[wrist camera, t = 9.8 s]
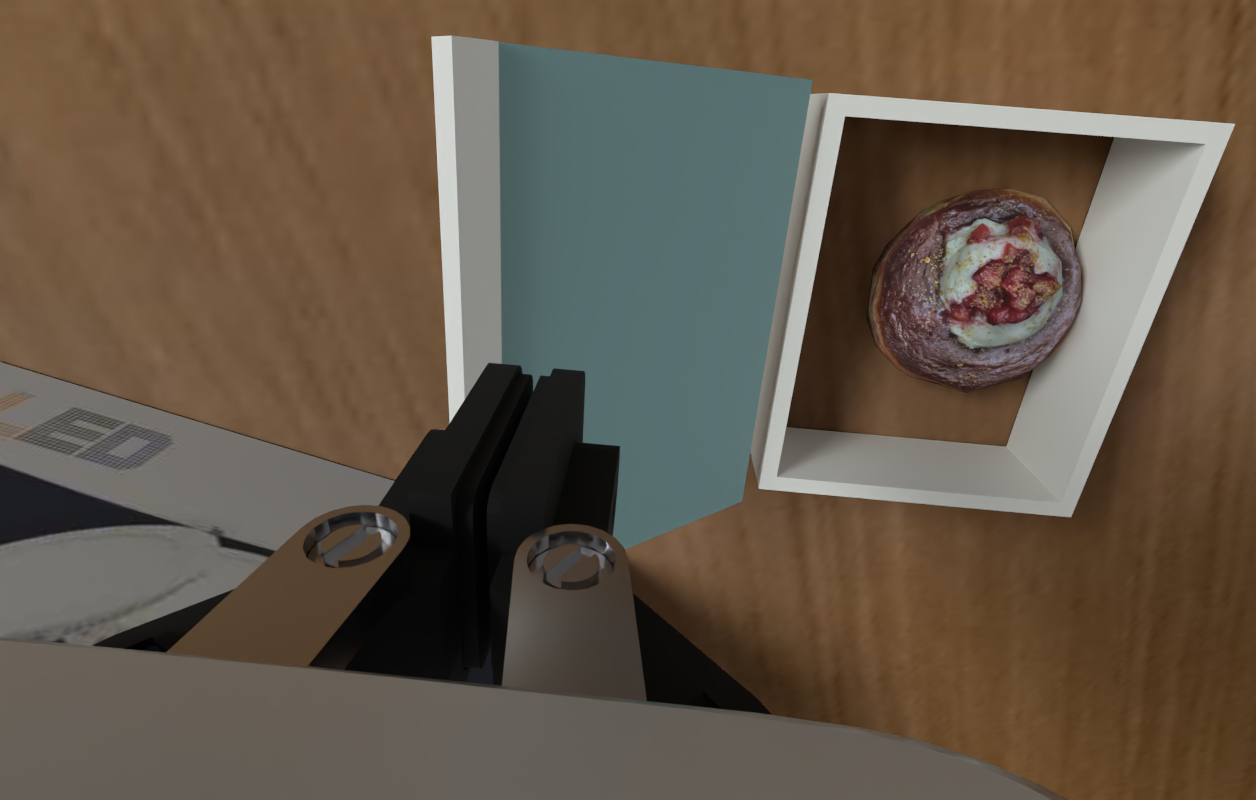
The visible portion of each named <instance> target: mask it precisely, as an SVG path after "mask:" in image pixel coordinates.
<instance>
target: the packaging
mask: <svg viewBox="0 0 1256 800" xmlns="http://www.w3.org/2000/svg"><path fill="white" fill-rule="evenodd" d="M394 482H395V481H393V480H389V479H386V478H383V477H379V476H376V475H373V474H370V473H366V472H363V471H360V470H356V469H353V468H350V467H346V466H343V465H340V464H336V463H333V462H330V461H327V460H323V459H320V458H317V457H313V456H310V455H307V454H303V453H300V452H297V451H293V450H290V449H287V448H283V447H280V446H277V445H274V444H270V443H267V442H264V441H260V440H257V439H254V438H250V437H247V436H244V435H240V434H237V433H234V432H231V431H227V430H224V429H221V428H217V427H214V426H211V425H207V424H204V423H201V422H197V421H194V420H191V419H188V418H184V417H181V416H178V415H174V414H171V413H168V412H164V411H161V410H158V409H154V408H151V407H148V406H144V405H141V404H138V403H135V402H131V401H128V400H125V399H121V398H118V397H115V396H111V395H108V394H105V393H101V392H98V391H95V390H92V389H88V388H85V387H82V386H78V385H75V384H72V383H68V382H65V381H62V380H58V379H55V378H52V377H48V376H45V375H42V374H39V373H35V372H32V371H29V370H25V369H22V368H19V367H15V366H12V365H9V364H5V363H2V362H0V637H3V638H14V639H25V640H35V641H46V642H57V643H67V644H78V645H89V646H92V645H94V644H96V643H98V642H100V641H102V640H104V639H107V638H109V637H111V636H113V635H115V634H118V633H121V632H123V631H126V630H128V629H131V628H134V627H136V626H139V625H141V624H144V623H147V622H149V621H152V620H155V619H157V618H160V617H162V616H165V615H168V614H170V613H173V612H175V611H178V610H181V609H183V608H186V607H188V606H191V605H194V604H196V603H199V602H202V601H204V600H207V599H209V598H212V597H215V596H217V595H220V594H222V593H225V592H228V591H230V590H233V589H235V588H236V587H238V586H239V585H240V584H241V583H242V582H243V581H244V580H245V579H246V578H247V577H248V576H249V575H251V574H252V573H253V572H254V571H255V570H256V569H257V568H258V567H259V566H260V565H261V564H262V563H264V562H265V561H266V560H267V559H268V558H269V557H270V556H271V555H272V554H273V553H274V552H275V551H277V550H278V549H279V548H280V547H281V546H282V545H283V544H284V543H285V542H286V541H287V540H288V539H289V538H291V537H292V536H293V535H294V534H295V533H296V532H297V531H298V530H299V529H300V528H302V527H303V526H304V525H306V524H307V523H308V522H310V521H311V520H313V519H314V518H316V517H318V516H321V515H323V514H325V513H327V512H329V511H332V510H336V509H340V508H344V507H348V506H359V505H373V506H378V505H379V504H380V502H381V501H382V499H383V498H384V496H385V495H386V494H387V492H388V491H389V489H390V488H391V486H392V485H393V483H394ZM467 682H470V683H479V684H489V685H493V670H492V665H491V646H490V649H489V652H488V655H487V658H486V661H485V664H484V666H483V668H482V669H476V668H471V670H470V673H469V676H468V679H467Z"/></svg>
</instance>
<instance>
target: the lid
mask: <svg viewBox="0 0 1256 800" xmlns="http://www.w3.org/2000/svg"><path fill="white" fill-rule="evenodd" d="M432 58H433V80H434V101H435V122H436V143H437V164H438V185H439V207H440V228H441V249H442V270H443V291H444V312H445V334H446V355H447V376H448V397H449V418H450V422H451V420H452V419H453V417H454V416H455V414H456V413H457V411H458V409H459V408H460V406H461V405H462V403H463V402H464V400H465V398H466V397H467V395H468V394H469V392H470V391H471V389H472V388H473V386H474V384H475V383H476V381H477V380H478V378H479V377H480V375H481V373H482V372H483V370H484V369H485V367H486V366H487V364H488V363H498V364H509V365H520V366H521V368H522V373H523V374H530V375H532V377H533V391H534V389H535V387H536V384H537V382H538V380H539V378H540V376H541V375H542V376H550V375H551V373H552V370H553V369H554V368H555V369H566V370H578V371H585V401H584V425H583V443H592V444H603V445H614V446H620V460H619V474H618V488H617V500H616V511H615V521H614V530H613V537H615V538H616V539H617V540H618V541H619V543H620V544H621V545H622V546H623V547H624V549H627V548H630V547H632V546H634V545H637V544H639V543H642V542H644V541H647V540H649V539H652V538H654V537H656V536H659V535H661V534H664V533H666V532H669V531H671V530H674V529H676V528H678V527H681V526H683V525H686V524H688V523H691V522H693V521H695V520H698V519H700V518H703V517H705V516H708V515H710V514H713V513H715V512H717V511H720V510H722V509H725V508H727V507H730V506H732V505H735V504H737V503H739V502H742V499H743V493H744V487H745V481H746V475H747V469H748V463H749V457H750V451H751V445H752V439H753V433H754V427H755V421H756V415H757V410H758V404H759V398H760V392H761V386H762V380H763V374H764V368H765V362H766V356H767V350H768V344H769V338H770V332H771V326H772V320H773V314H774V308H775V302H776V296H777V290H778V284H779V278H780V272H781V266H782V260H783V254H784V248H785V242H786V236H787V230H788V224H789V218H790V212H791V206H792V201H793V195H794V189H795V183H796V177H797V171H798V165H799V159H800V153H801V147H802V141H803V135H804V129H805V123H806V117H807V111H808V105H809V99H810V93H811V87H812V81H813V80H809V79H801V78H793V77H784V76H776V75H768V74H760V73H751V72H743V71H735V70H726V69H718V68H710V67H701V66H693V65H685V64H677V63H668V62H660V61H652V60H643V59H635V58H627V57H618V56H610V55H602V54H594V53H585V52H577V51H569V50H560V49H552V48H544V47H535V46H527V45H519V44H511V43H502V42H498V41H491V40H483V39H475V38H467V37H458V36H435V37H432Z"/></svg>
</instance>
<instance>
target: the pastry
mask: <svg viewBox="0 0 1256 800" xmlns="http://www.w3.org/2000/svg"><path fill="white" fill-rule="evenodd" d="M1080 304H1081V267H1080V264H1079V261H1078V258H1077V255H1076V252H1075V247H1074V242H1073V237H1072V232H1071V228H1070V227H1069V226H1068V225H1067V223H1066V222H1065V221H1064V220H1063V219H1062V218H1061V216H1060V215H1059V214H1058V213H1057V212H1056V211H1055V209H1054V208H1053V207H1052V206H1051V205H1050V204H1049V203H1048V201H1047V200H1046V199H1045V198H1044V197H1041V196H1037V195H1033V194H1029V193H1025V192H1021V191H1016V190H1012V189H994V190H976V191H973V192H970V193H966V194H963V195H960V196H957V197H953V198H950V199H947V200H943V201H941V202H939V203H937V204H935V205H933V206H931V207H929V208H927V209H926V210H924V211H922V212H920V213H919V214H918V215H917V216H916V217H915V218H914V219H913V220H912V221H911V222H910V223H909V224H908V225H907V226H906V227H905V228H904V229H902V230H901V231H900V232H899V233H898V234H897V235H896V236H895V237H894V238H893V239H892V240H891V241H890V242H889V243H888V244H887V245H886V247H885V249H884V250H883V252H882V254H881V256H880V258H879V260H878V261H877V263H876V265H875V267H874V269H873V275H872V282H871V289H870V296H869V303H868V310H867V317H866V318H867V321H868V324H869V327H870V330H871V333H872V336H873V339H874V342H875V345H876V347H877V348H878V349H879V350H880V351H881V352H882V353H883V354H884V355H885V356H886V357H887V358H888V360H889V361H890V362H891V363H892V364H893V365H894V366H895V367H896V368H897V369H899V370H900V371H902V372H903V373H905V374H907V375H908V376H910V377H914V378H918V379H921V380H925V381H929V382H932V383H936V384H940V385H943V386H946V387H950V388H953V389H956V390H959V391H963V392H970V391H974V390H977V389H981V388H985V387H989V386H993V385H996V384H1000V383H1004V382H1008V381H1011V380H1015V379H1019V378H1022V377H1023V376H1025V375H1026V374H1027V373H1029V372H1030V371H1031V370H1033V369H1034V368H1035V367H1037V366H1038V365H1039V364H1040V363H1042V362H1043V361H1044V360H1046V359H1047V358H1048V357H1050V356H1051V355H1052V353H1053V352H1054V351H1055V349H1056V348H1057V347H1058V346H1059V344H1060V343H1061V342H1062V341H1063V339H1064V338H1065V337H1066V334H1067V332H1068V330H1069V328H1070V326H1071V324H1072V322H1073V319H1074V317H1075V315H1076V313H1077V311H1078V308H1079V306H1080Z"/></svg>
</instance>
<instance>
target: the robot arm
mask: <svg viewBox="0 0 1256 800" xmlns="http://www.w3.org/2000/svg"><path fill="white" fill-rule="evenodd" d="M584 401H585V371H578V370H566V369H555V368H554V369H553V370H552V373H551V375H550V376H542V375H541V376H540V378H539V380H538V382H537V384H536V387H535V389H534V391H533V377H532V375H530V374H523V373H522V368H521V366H520V365H509V364H498V363H488V364H487V366H486V367H485V369H484V370H483V372H482V373H481V375H480V377H479V378H478V380H477V381H476V383H475V384H474V386H473V388H472V389H471V391H470V392H469V394H468V395H467V397H466V398H465V400H464V402H463V403H462V405H461V406H460V408H459V409H458V411H457V413H456V414H455V416H454V417H453V419H452V420H451V422H450V424H449V425H448V427H447V428H446V430H436V429H434V430H431V431H430V432H429V433H428V434H427V435H426V436H425V438H424V439H423V441H422V442H421V444H420V445H419V447H418V448H417V450H416V451H415V452H414V454H413V455H412V457H411V458H410V460H409V461H408V463H407V464H406V466H405V467H404V469H403V470H402V472H401V473H400V474H399V476H398V477H397V479H396V480H395V482H394V483H393V485H392V486H391V488H390V489H389V491H388V492H387V494H386V495H385V496H384V498H383V499H382V501H381V502H380V504H379V505H378V506H373V505H359V506H348V507H344V508H340V509H336V510H332V511H329V512H327V513H325V514H323V515H321V516H318V517H316V518H314V519H313V520H311V521H310V522H308V523H307V524H306V525H304V526H303V527H302V528H300V529H299V530H298V531H297V532H296V533H295V534H294V535H293V536H292V537H291V538H289V539H288V540H287V541H286V542H285V543H284V544H283V545H282V546H281V547H280V548H279V549H278V550H277V551H275V552H274V553H273V554H272V555H271V556H270V557H269V558H268V559H267V560H266V561H265V562H264V563H262V564H261V565H260V566H259V567H258V568H257V569H256V570H255V571H254V572H253V573H252V574H251V575H249V576H248V577H247V578H246V579H245V580H244V581H243V582H242V583H241V584H240V585H239V586H238V587H236V588H235V589H233V590H230V591H228V592H225V593H222V594H220V595H217V596H215V597H212V598H209V599H207V600H204V601H202V602H199V603H196V604H194V605H191V606H188V607H186V608H183V609H181V610H178V611H175V612H173V613H170V614H168V615H165V616H162V617H160V618H157V619H155V620H152V621H149V622H147V623H144V624H141V625H139V626H136V627H134V628H131V629H128V630H126V631H123V632H121V633H118V634H115V635H113V636H111V637H109V638H107V639H104V640H102V641H100V642H98V643H96V644H94V645H92V646H89V645H78V644H67V643H57V642H46V641H35V640H25V639H14V638H3V637H0V800H1067V799H1066V798H1064V797H1062V796H1060V795H1058V794H1056V793H1054V792H1052V791H1050V790H1048V789H1047V788H1045V787H1043V786H1041V785H1039V784H1037V783H1034V782H1032V781H1030V780H1027V779H1025V778H1023V777H1020V776H1018V775H1016V774H1013V773H1011V772H1009V771H1006V770H1004V769H1002V768H999V767H997V766H995V765H992V764H990V763H988V762H985V761H983V760H981V759H978V758H976V757H972V756H969V755H966V754H963V753H959V752H956V751H953V750H950V749H947V748H943V747H940V746H937V745H934V744H930V743H927V742H924V741H921V740H917V739H913V738H908V737H903V736H899V735H894V734H889V733H885V732H880V731H875V730H871V729H866V728H862V727H855V726H847V725H840V724H833V723H825V722H818V721H811V720H804V719H797V718H790V717H783V716H776V715H771V713H770V712H769V711H768V710H767V709H766V708H765V707H764V706H763V705H762V704H761V702H760V701H759V700H758V699H757V698H756V697H754V696H753V695H752V694H751V693H750V692H749V691H747V690H746V689H745V688H744V687H743V686H742V685H740V684H739V683H738V682H737V681H736V680H734V679H733V678H732V677H731V676H730V675H729V674H727V673H726V672H725V671H724V670H723V669H721V668H720V667H719V666H718V665H717V664H716V663H714V662H713V661H712V660H711V659H710V658H709V657H707V656H706V655H705V654H704V653H703V652H701V651H700V650H699V649H698V648H697V647H696V646H694V645H693V644H692V643H691V642H690V641H688V640H687V639H686V638H685V637H684V636H683V635H681V634H680V633H679V632H678V631H677V630H676V629H674V628H673V627H672V626H671V625H670V624H668V623H667V622H666V621H665V620H664V619H663V618H661V617H660V616H659V615H658V614H657V613H655V612H654V611H653V610H652V609H651V608H650V607H648V606H647V605H646V604H645V603H644V602H643V601H641V600H640V599H639V598H638V597H637V596H635V595H634V594H633V592H632V585H631V577H630V570H629V562H628V557H627V554H626V552H625V549H624V547H623V546H622V545H621V544H620V543H619V541H618V540H617V539H616V538H615V537H613V530H614V521H615V511H616V500H617V488H618V474H619V460H620V446H614V445H603V444H592V443H583V425H584ZM490 646H491V665H492V670H493V685H489V684H479V683H470V682H467V679H468V676H469V673H470V670H471V668H476V669H482V668H483V666H484V664H485V661H486V658H487V655H488V652H489V649H490Z"/></svg>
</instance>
